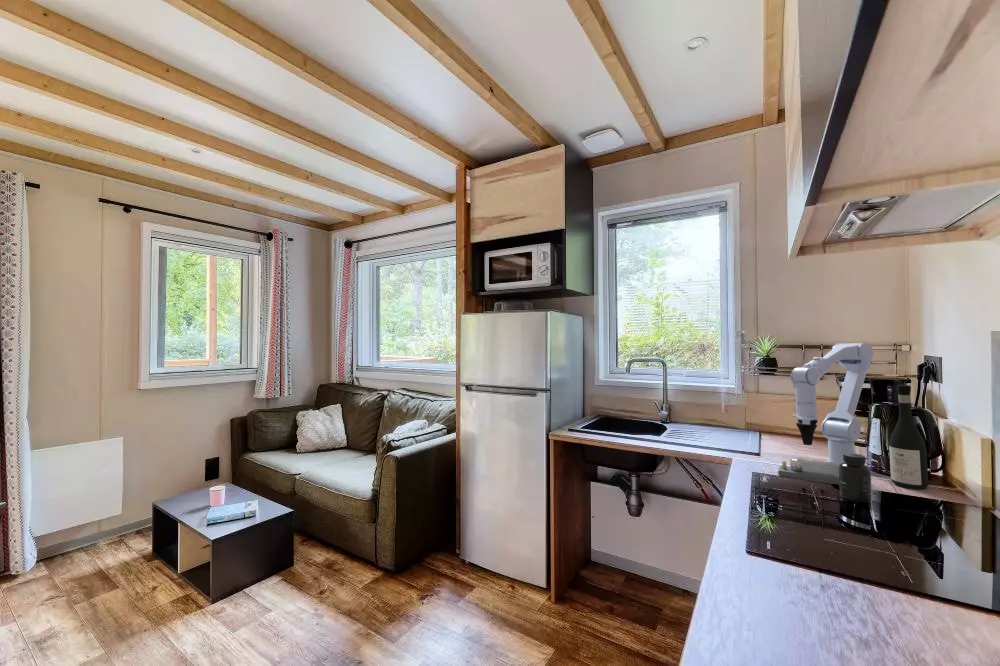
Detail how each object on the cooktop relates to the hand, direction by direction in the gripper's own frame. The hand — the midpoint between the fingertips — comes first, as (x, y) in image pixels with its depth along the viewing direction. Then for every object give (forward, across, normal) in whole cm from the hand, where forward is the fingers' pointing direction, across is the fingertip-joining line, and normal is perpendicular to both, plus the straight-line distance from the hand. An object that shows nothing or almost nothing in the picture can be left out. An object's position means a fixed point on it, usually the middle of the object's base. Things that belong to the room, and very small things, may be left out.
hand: (808, 442), depth 144 cm
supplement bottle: (+10, +25, +11) cm, 29 cm away
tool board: (+9, +8, +3) cm, 13 cm away
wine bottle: (+10, +3, +24) cm, 26 cm away
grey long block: (+8, +8, +2) cm, 11 cm away
